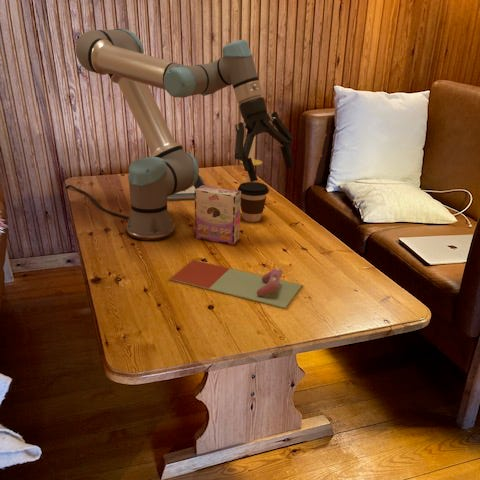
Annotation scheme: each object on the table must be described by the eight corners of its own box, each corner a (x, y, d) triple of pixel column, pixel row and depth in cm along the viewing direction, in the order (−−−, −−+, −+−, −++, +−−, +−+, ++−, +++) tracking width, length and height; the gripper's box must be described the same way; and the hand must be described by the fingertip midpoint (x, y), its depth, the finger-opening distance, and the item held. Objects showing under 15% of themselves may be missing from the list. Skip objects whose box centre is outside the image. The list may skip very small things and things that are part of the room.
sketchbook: (198, 177, 232) (198, 172, 231) (211, 199, 207) (211, 194, 206) (148, 178, 227) (148, 173, 226) (155, 201, 202) (155, 196, 201)
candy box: (240, 239, 175) (242, 190, 166) (233, 245, 170) (235, 195, 161) (201, 232, 178) (202, 183, 170) (194, 238, 174) (194, 189, 165)
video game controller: (269, 303, 141) (282, 284, 137) (254, 295, 141) (267, 275, 137) (274, 286, 149) (287, 268, 146) (260, 278, 149) (273, 259, 145)
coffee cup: (231, 221, 188) (232, 188, 182) (243, 211, 197) (244, 179, 190) (260, 226, 185) (262, 193, 178) (271, 216, 193) (273, 184, 187)
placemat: (170, 280, 148) (170, 278, 148) (193, 261, 159) (193, 259, 159) (285, 308, 137) (285, 307, 137) (301, 286, 148) (301, 284, 148)
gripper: (221, 107, 142) (245, 185, 148) (292, 87, 153) (311, 160, 159) (208, 114, 148) (231, 188, 155) (277, 94, 159) (296, 164, 165)
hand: (272, 174), depth 157 cm, fingers open, 13 cm apart
